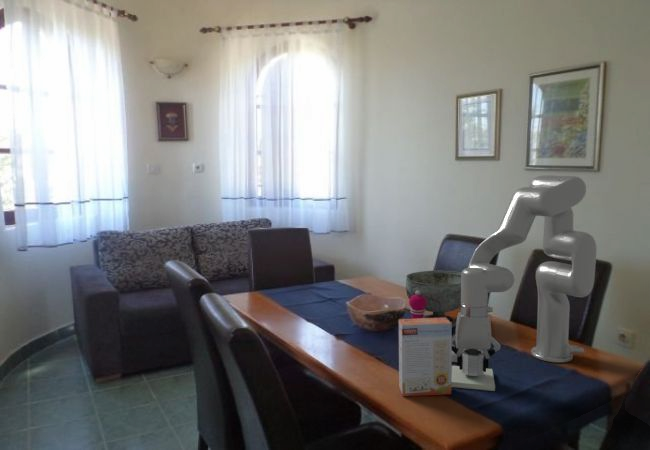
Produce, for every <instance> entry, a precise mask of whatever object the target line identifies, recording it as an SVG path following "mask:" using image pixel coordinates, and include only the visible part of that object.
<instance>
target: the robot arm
mask: <svg viewBox="0 0 650 450" xmlns="http://www.w3.org/2000/svg"><path fill="white" fill-rule="evenodd" d="M586 192H587V186H586V183H585V181H584V180H583V179H582V178H581V177H579V176H575V175H547V174H546V175H538V176H535V177H533V178H532V179H531V180H530V182H529V186H528V187H527V186H526V187H525V186H524V187H520V188H518V189H516V190H515V191H514V193H513V195H512V196H511V199H510V201H509V203H508V205H507V208H506V210H505V212H504V214H503V217H502V219H501V221H500V224H499V227H497V229H496V231H494V232H493V233H492V234H490V235H489V236H487V238H485V239H483V241H482V242H481V243H480V244H479V245H478V246H477V247H476V248H475V250H474V252H473V254H472V256H471V258H470V260H469V263H468V266H467V268H464V269H462V271H461V272H462V273H461V308H460V311H459V312H458V313H457V317H456V320H455V322H456V325H455V331H454V334H453V335H452V351H453V352H454V353H455V354H456V355H457V363H456V366H459V369H460V370H461V369H462V351H463V349H479V350H482V351H483V353H484V367H483V371H484V372H486V369H489V361H490V360H489V359H491V357H492V356H494V354H496V352H498V351H499V350H500V349H501V348H502V347H501V346H502V345H501V344H500V343H499V342H498V341H497V340H496V338H494V337H493V336H492V322H491V314H489V313H493V306H492V307H491V306H489V305H488V297H489V296H488V294H489V293H505V292H507V291H509V290H510V289H511V288H512V287H513V285H514V284H515V275H514V273H513V271H511V270H510V269H508V268H507V267H504V266H501V265H495V264H492V263H491V261H492V260H493V258H494V257H495V256H496V255H497V254H498V253H499V252H501V251H503V250H505V249H508V248H512V247H513V246H517V245H520V244H522V243H524V242H526V240H527V238H528V235H529V233H530V230H531V228H532V226H533V223H534V221H535V219H536V217H543V220H544V223H543V238H542V250H543V252H544V254H545V255H546V256H548V257H549V258H554V259H558V260H564V261H569V262H571V264H568V263H564V262H558V261H554V260H553V261H552V260H551V261H549V260H548V261H544V262H542V263H540V264H539V265H538V267H536V270H535V281H536V283H535V284H536V287H537V322H536V324H537V325H536V346H533V347H532V348H531V350H530V354H531V355H532V356H533V357H534V358H536V359H538V360H541V361H546V362H549V363H550V362H551V363H559V364H560V363H568V362H571V361H573V359H574V358H573V357H574V356H573V355H574V354H578V355H583V354H585V348H584V347H579V346H578V345H571V344H570V343H569V330H570V307H571V306H570V301H569V299H568V296H572V297H576V298H585V297H588V296H589V295H590V293H592V291H593V288H594V284H595V276H596V275H595V274H596V265H597V248H598V247H597V243H596V240H595V238H594V236H592V235H591V234H590V233H588V232H585V231H579V230H578V231H577V230H574V212H573V209H572V208H573V207H575V206H577V205H578V204H580V202H582V201H583V199H584V198H585V197H586ZM567 295H568V296H567ZM453 342H454V343H455V344H454V343H453ZM492 345H493V347H492ZM456 346H457V347H458V348H457V347H456Z"/></svg>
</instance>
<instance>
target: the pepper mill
mask: <svg viewBox="0 0 650 450" xmlns="http://www.w3.org/2000/svg"><path fill="white" fill-rule="evenodd" d="M415 294H416V295H413V296H412V297H411V298H410V299H408V301H409V302H408V303H409V306H410V314H411V319H418V318H423V317H424V315H425V313H426V311H425V309H424V307H425V306H426V299H425V297H424V296H422V295H420V291H416V292H415Z"/></svg>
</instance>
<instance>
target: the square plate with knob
mask: <svg viewBox="0 0 650 450" xmlns="http://www.w3.org/2000/svg"><path fill="white" fill-rule="evenodd" d="M451 375H452V378H451V388H458V389H459V388H461V389H469V390H470V389H471V390H481V391H492V392H495V391H496V384H495V378H494V371H493V368H486V372H484V374H482V375H479V376H471V375H467V374H465V373H462V369H461V370H460V369H459V366H457V365H452V374H451Z"/></svg>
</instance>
